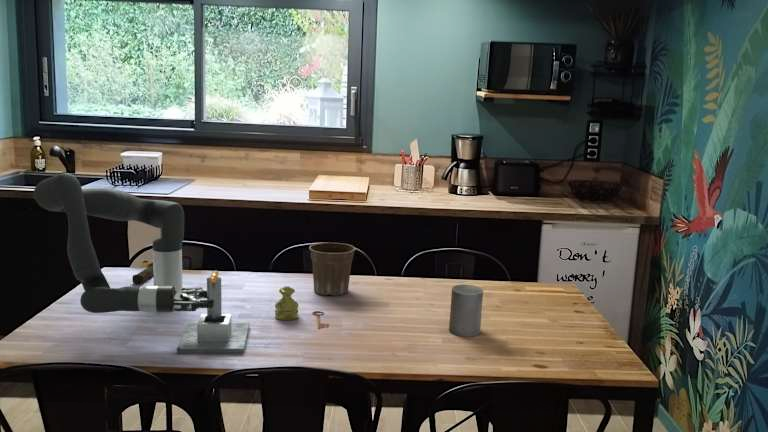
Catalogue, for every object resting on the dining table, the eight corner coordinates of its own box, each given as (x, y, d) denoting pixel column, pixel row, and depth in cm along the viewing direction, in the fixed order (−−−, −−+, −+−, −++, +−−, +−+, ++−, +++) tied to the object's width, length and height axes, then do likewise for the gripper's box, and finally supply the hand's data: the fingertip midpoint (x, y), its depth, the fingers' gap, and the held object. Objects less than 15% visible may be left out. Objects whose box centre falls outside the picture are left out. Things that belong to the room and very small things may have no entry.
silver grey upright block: (209, 330, 215) (208, 269, 211) (223, 330, 215) (223, 269, 212) (205, 341, 206) (204, 278, 203) (219, 340, 207) (219, 278, 203)
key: (331, 330, 224) (329, 313, 239) (331, 327, 224) (330, 311, 238) (312, 329, 223) (312, 312, 238) (312, 326, 223) (312, 310, 238)
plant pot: (328, 281, 272) (329, 239, 268) (363, 290, 262) (364, 247, 259) (299, 291, 259) (299, 247, 255) (334, 301, 249) (335, 255, 246)
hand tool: (142, 285, 259) (142, 273, 259) (132, 284, 260) (131, 272, 259) (166, 271, 278) (166, 259, 277) (156, 270, 278) (156, 258, 277)
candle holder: (188, 328, 220) (188, 307, 219) (249, 327, 222) (249, 307, 220) (176, 353, 200) (176, 331, 199) (243, 353, 202) (243, 331, 201)
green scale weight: (288, 311, 238) (289, 282, 236) (303, 317, 233) (303, 287, 231) (270, 316, 233) (270, 286, 231) (284, 322, 227) (284, 292, 225)
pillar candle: (443, 327, 228) (446, 281, 225) (470, 324, 232) (473, 279, 229) (458, 339, 220) (461, 291, 216) (486, 335, 223) (489, 288, 220)
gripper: (151, 294, 199) (212, 294, 201) (161, 278, 213) (218, 279, 215) (152, 320, 201) (212, 320, 202) (162, 303, 215) (218, 303, 216)
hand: (215, 299), depth 209 cm, fingers open, 8 cm apart
